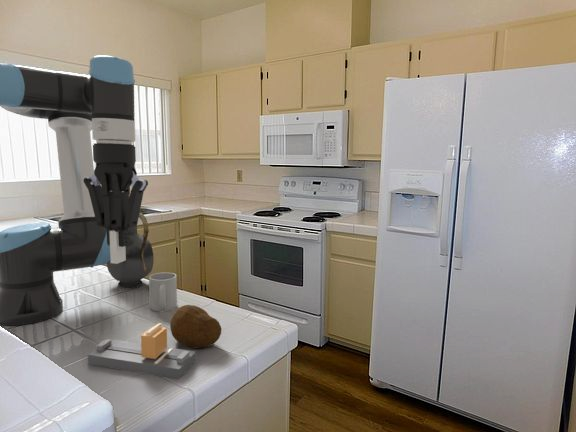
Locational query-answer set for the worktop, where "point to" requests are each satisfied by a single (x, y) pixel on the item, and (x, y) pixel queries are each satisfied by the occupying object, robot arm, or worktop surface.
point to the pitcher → (134, 259)
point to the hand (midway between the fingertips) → (118, 261)
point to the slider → (154, 342)
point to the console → (141, 359)
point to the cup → (163, 291)
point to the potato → (194, 327)
